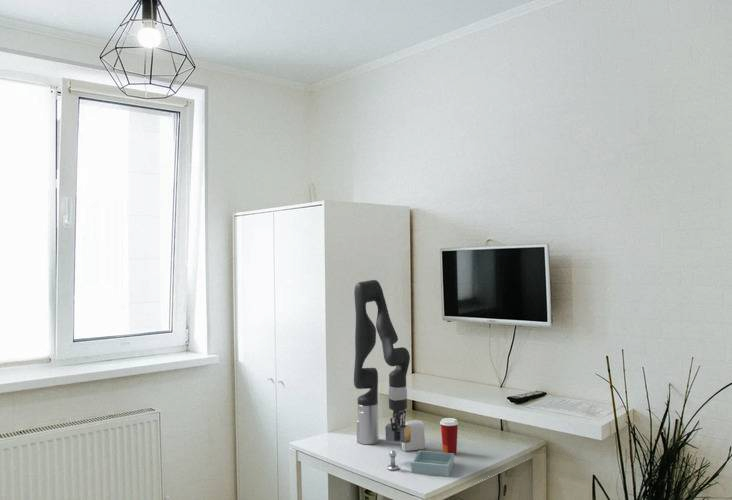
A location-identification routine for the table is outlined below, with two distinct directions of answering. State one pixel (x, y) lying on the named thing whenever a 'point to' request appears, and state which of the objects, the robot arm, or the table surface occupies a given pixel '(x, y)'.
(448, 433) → the paper cup
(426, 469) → the bin
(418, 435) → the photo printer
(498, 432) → the table surface
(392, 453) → the stud post
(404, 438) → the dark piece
